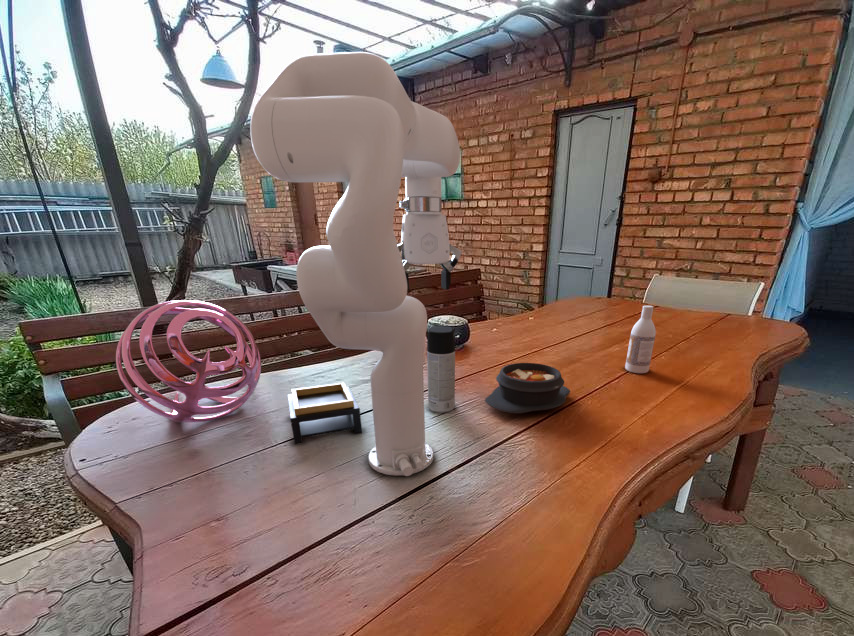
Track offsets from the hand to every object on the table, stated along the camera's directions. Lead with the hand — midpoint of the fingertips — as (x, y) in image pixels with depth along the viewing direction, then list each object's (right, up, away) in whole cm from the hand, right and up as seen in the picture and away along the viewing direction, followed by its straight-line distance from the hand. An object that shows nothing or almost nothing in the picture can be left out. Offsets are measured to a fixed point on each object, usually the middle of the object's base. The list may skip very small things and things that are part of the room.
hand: (425, 290), depth 97 cm
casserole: (+26, -26, +13) cm, 38 cm away
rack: (-23, -31, 0) cm, 38 cm away
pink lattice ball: (-52, -29, +5) cm, 60 cm away
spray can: (+3, -27, +9) cm, 29 cm away
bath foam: (+64, -16, +36) cm, 75 cm away
